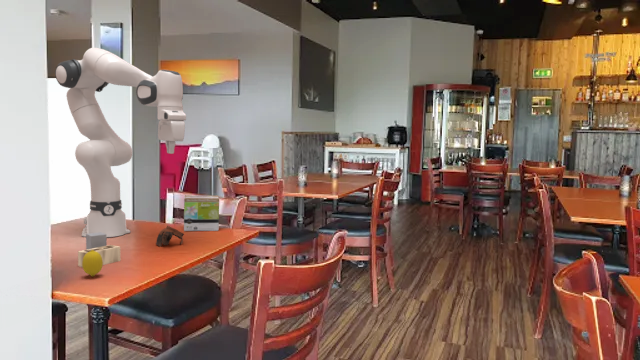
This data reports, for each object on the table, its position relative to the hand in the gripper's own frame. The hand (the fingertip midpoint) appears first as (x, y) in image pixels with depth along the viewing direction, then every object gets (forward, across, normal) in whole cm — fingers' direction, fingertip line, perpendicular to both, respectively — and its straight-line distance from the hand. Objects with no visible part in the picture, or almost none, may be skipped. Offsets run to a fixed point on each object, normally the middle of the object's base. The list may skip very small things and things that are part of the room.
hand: (170, 153), depth 188 cm
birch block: (+33, +8, -21) cm, 40 cm away
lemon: (+35, +26, -31) cm, 54 cm away
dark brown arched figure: (+35, -6, +1) cm, 36 cm away
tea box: (+35, -30, +23) cm, 52 cm away
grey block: (+35, +2, -26) cm, 44 cm away
